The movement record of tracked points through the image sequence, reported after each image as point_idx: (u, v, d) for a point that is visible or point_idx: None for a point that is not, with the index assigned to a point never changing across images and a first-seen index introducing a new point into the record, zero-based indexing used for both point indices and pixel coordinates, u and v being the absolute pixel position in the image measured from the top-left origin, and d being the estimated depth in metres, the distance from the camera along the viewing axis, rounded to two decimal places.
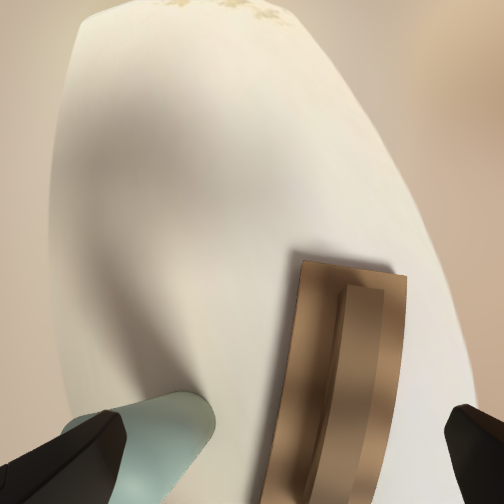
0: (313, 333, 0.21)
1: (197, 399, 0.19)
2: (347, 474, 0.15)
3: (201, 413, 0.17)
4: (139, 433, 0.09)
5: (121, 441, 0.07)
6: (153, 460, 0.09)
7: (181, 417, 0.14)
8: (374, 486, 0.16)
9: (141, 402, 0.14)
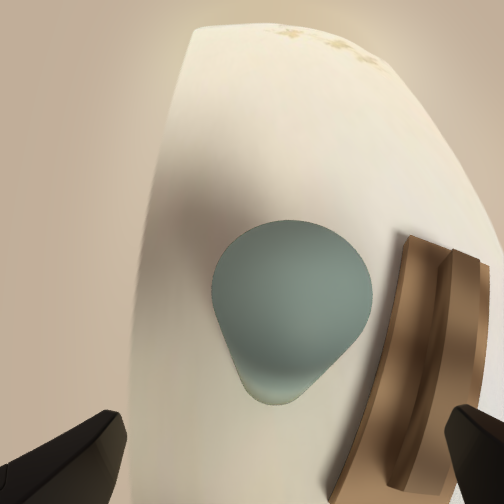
0: (418, 295, 0.20)
1: None
2: None
3: None
4: (346, 245, 0.10)
5: (121, 441, 0.07)
6: (363, 271, 0.09)
7: None
8: None
9: None
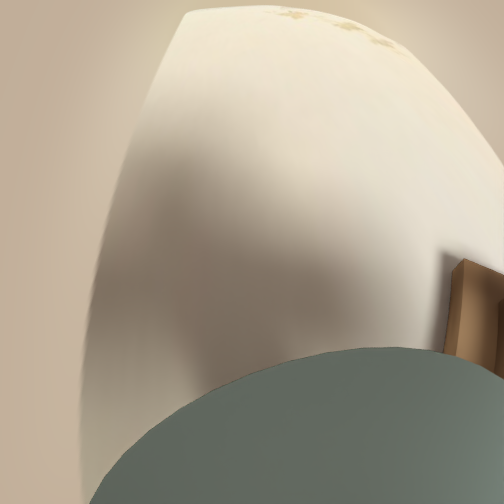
0: (477, 346, 0.12)
1: None
2: None
3: None
4: None
5: None
6: None
7: None
8: None
9: None
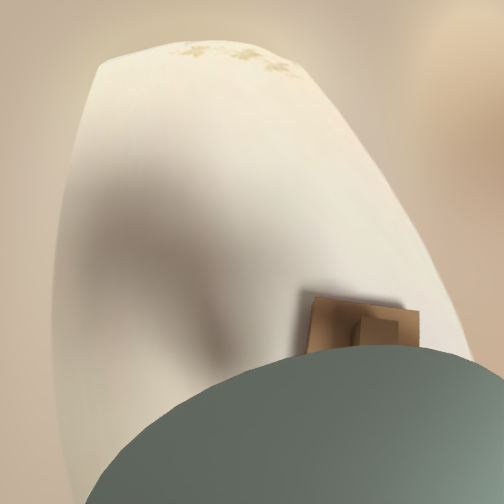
0: None
1: None
2: None
3: None
4: None
5: None
6: None
7: None
8: None
9: None
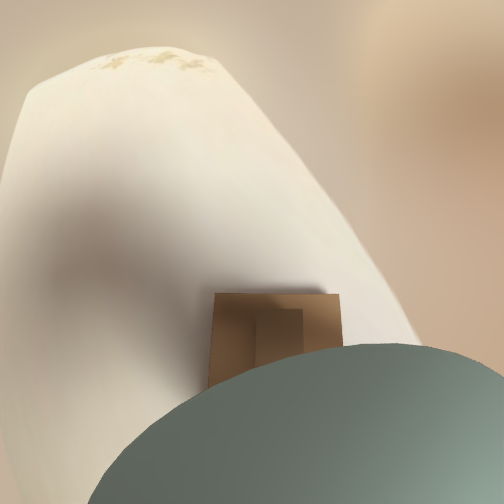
0: (231, 370, 0.18)
1: None
2: None
3: None
4: None
5: None
6: None
7: None
8: None
9: None
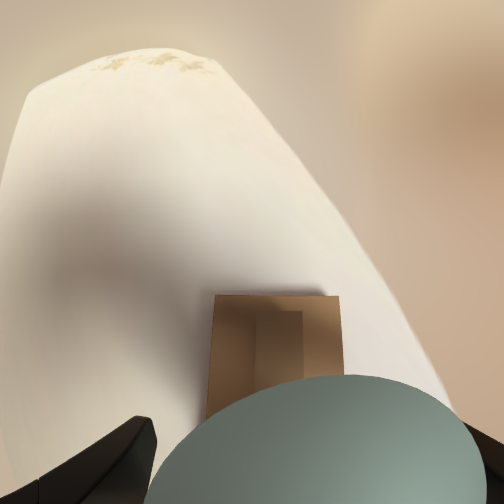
0: (231, 371, 0.18)
1: None
2: None
3: None
4: (452, 419, 0.03)
5: (152, 447, 0.07)
6: (478, 478, 0.02)
7: None
8: None
9: None
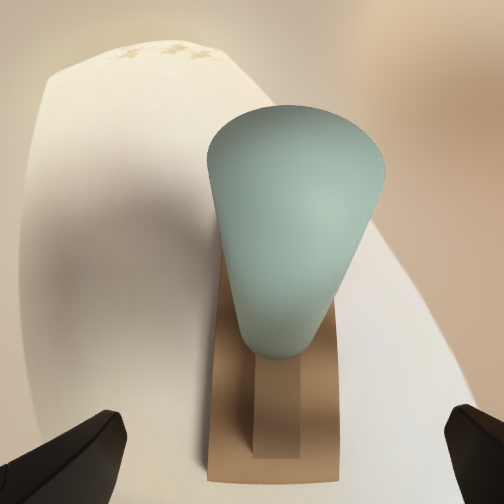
0: None
1: None
2: (290, 388, 0.16)
3: None
4: (352, 128, 0.08)
5: (121, 441, 0.07)
6: (371, 145, 0.08)
7: None
8: (337, 421, 0.17)
9: None
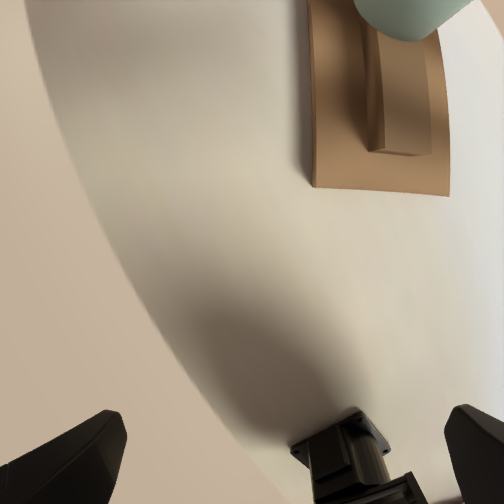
0: None
1: None
2: (417, 73, 0.12)
3: None
4: None
5: (121, 441, 0.07)
6: None
7: None
8: (447, 126, 0.14)
9: None
